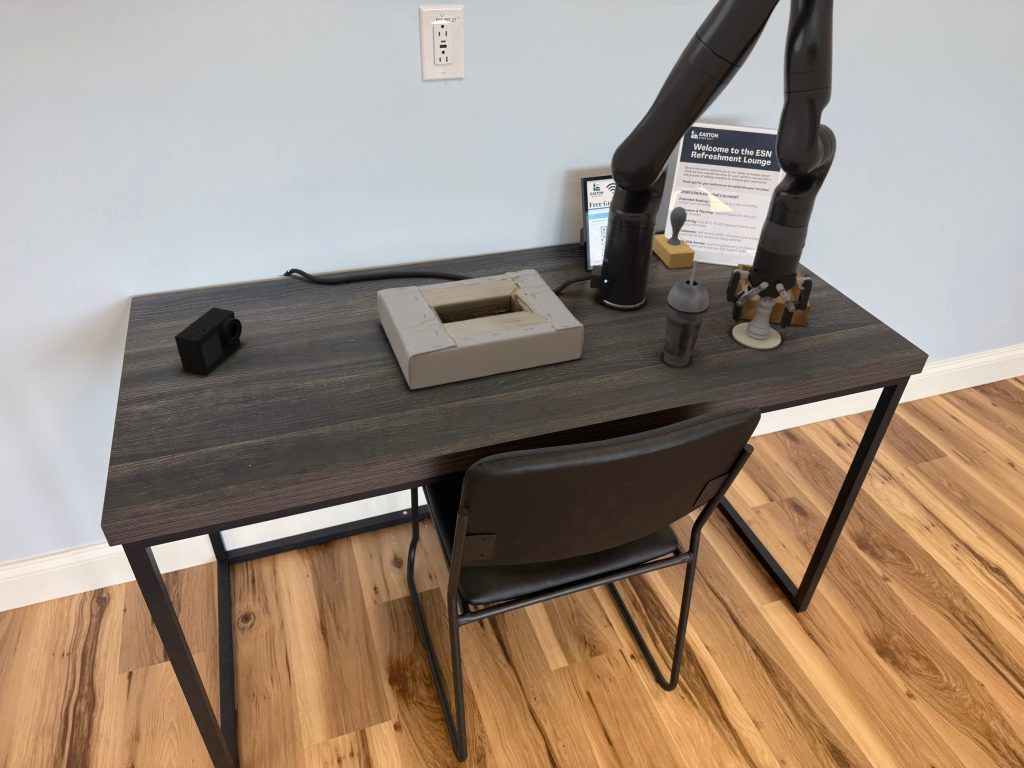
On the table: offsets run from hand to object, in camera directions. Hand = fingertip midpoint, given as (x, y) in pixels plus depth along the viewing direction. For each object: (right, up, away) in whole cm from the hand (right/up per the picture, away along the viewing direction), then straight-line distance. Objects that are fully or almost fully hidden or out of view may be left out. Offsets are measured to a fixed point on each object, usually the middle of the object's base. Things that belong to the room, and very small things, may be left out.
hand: (759, 323), depth 137 cm
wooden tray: (+6, +5, +12) cm, 15 cm away
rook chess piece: (0, -2, +2) cm, 3 cm away
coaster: (0, -2, +2) cm, 3 cm away
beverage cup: (-17, -7, -6) cm, 19 cm away
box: (-53, -4, -3) cm, 53 cm away
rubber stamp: (-10, +17, +28) cm, 35 cm away
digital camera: (-98, -7, -10) cm, 99 cm away
